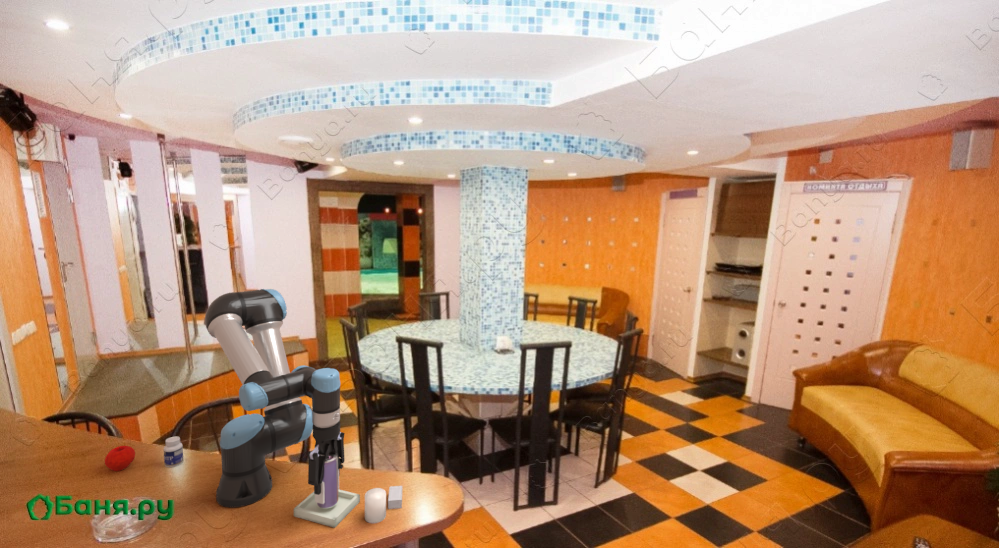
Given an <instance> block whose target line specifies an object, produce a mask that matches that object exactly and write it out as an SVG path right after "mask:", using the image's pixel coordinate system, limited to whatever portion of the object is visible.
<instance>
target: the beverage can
mask: <svg viewBox="0 0 999 548" xmlns="http://www.w3.org/2000/svg"><path fill="white" fill-rule="evenodd" d="M320 455H321V454H320ZM323 456H324V455H323ZM322 481H323V482H324V486H325V503H324V504H320V503H317V505H318V506H319V507H320V508H322V509H328V508H331V507H333V506H335V505H336V504H337V502H338V457H337V454H336V453H335V454H332V453H329V455H328V459H326V462H325V465H324V475H323V480H322Z"/></svg>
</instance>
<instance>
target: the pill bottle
mask: <svg viewBox="0 0 999 548" xmlns="http://www.w3.org/2000/svg"><path fill="white" fill-rule="evenodd" d="M163 460H164V466H165V467H166V468H172V467H173V468H174V467H177V466H180V465H181V464H182V463H183V462H184V446H183V443H182V442H181V438H180V436H178V435H177V436H176V435H175V436H172V437H168V438H166V439H165V446H164V447H163Z"/></svg>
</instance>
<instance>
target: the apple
mask: <svg viewBox="0 0 999 548" xmlns="http://www.w3.org/2000/svg"><path fill="white" fill-rule="evenodd" d="M135 457H136V451H135V449H134V448H133V447H132V446H128V445H119V446H116V447H114V448H112V449H110V450H109V452H108V453H107V454H106V456H105V458H104V465H105V467H106V468H108V469H109V470H111V471H114V472H120V471H122V470H125V469H127V468H128V467H129V466H130V465H131V464H132V462H133V461H134V460H135Z"/></svg>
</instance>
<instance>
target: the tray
mask: <svg viewBox="0 0 999 548" xmlns="http://www.w3.org/2000/svg"><path fill="white" fill-rule="evenodd" d="M360 502H361V494H359V493H356V492H352V491H351V492H350V491H347V490H342V489H339V490H338V502H337V504H336V505H335V506H333V507H331V508H328V509H322V508H320V507H319V506H318V505H317V502H315V494H314V491H312V493H311V492H310V494H309V495H308V496H306V497H305V499H303V500H302V501H301V502H300V503H298V504H297V505H296V506H295V507H294V508H293V517H295V518H299V519H302V520H305V521H310V522H313V523H316V524H320V525H324V526H325V527H326V526H327V527H331V528H334V529H335V528H337V526H338V525H339V524H340V523H341V522H342V521H343V520H344V519H345V518H346V517H347V516H348V515H349V513H351V512H352V511H353V509H354V508H356V507H357V506H358V504H359V503H360Z"/></svg>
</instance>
